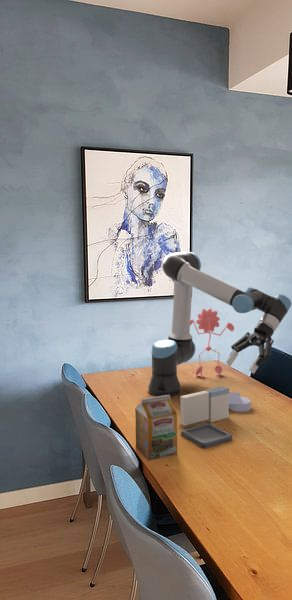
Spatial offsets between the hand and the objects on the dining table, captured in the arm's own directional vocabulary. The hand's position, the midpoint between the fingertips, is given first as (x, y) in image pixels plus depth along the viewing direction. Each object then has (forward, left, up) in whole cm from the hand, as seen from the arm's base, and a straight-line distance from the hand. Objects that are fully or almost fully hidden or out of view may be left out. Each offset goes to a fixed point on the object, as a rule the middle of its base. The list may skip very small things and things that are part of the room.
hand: (239, 367), depth 191 cm
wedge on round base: (-6, +3, -19) cm, 20 cm away
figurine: (-50, +24, -19) cm, 58 cm away
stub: (-1, -11, -19) cm, 22 cm away
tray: (+11, -26, -19) cm, 34 cm away
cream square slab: (-1, -22, -19) cm, 29 cm away
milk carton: (+10, -47, -19) cm, 52 cm away
